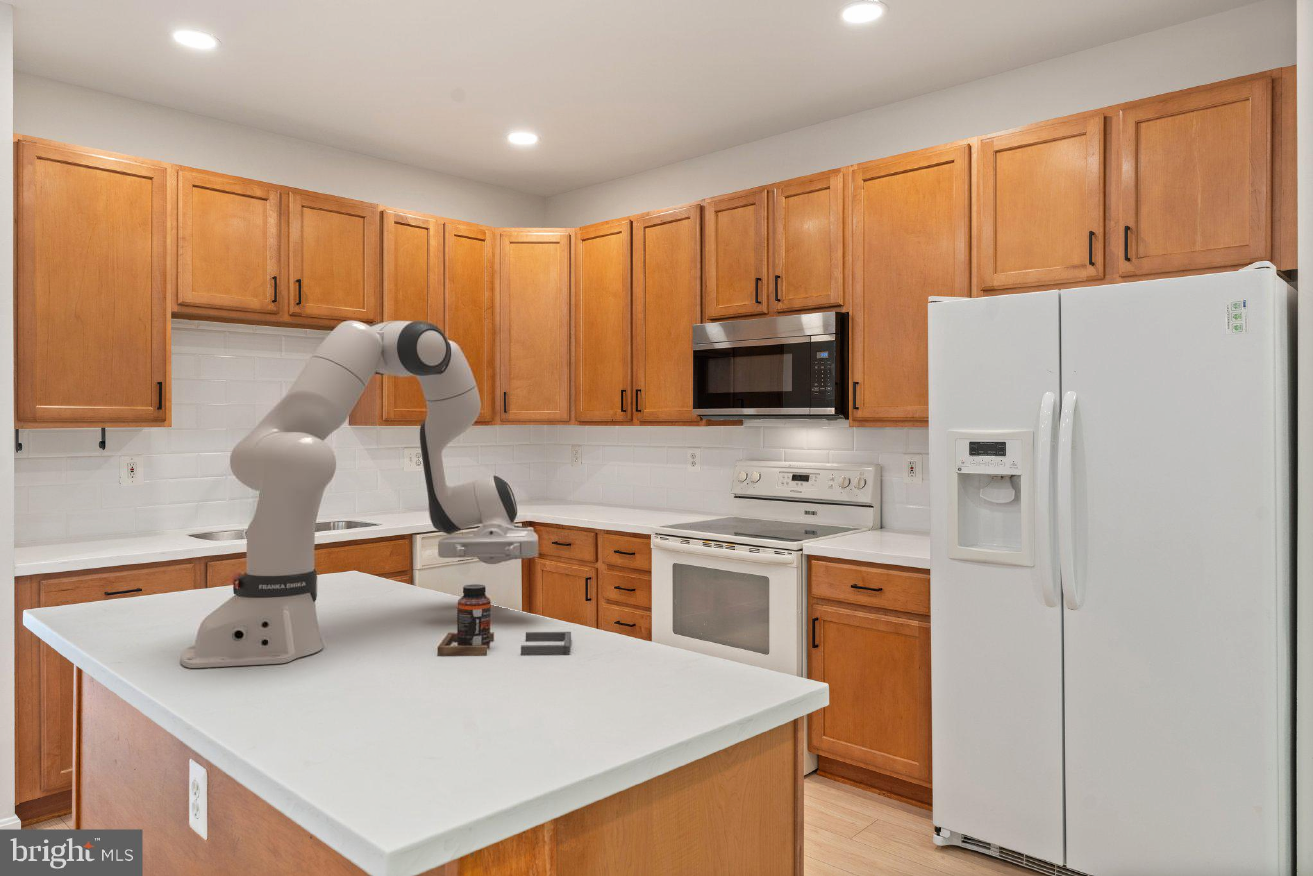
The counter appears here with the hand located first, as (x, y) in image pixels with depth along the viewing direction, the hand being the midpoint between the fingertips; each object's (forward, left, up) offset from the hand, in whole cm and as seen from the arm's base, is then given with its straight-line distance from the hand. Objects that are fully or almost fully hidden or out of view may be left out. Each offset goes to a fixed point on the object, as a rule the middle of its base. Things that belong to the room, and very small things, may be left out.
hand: (484, 552), depth 166 cm
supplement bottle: (-5, -11, -16) cm, 20 cm away
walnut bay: (-6, -11, -16) cm, 20 cm away
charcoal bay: (+8, -16, -16) cm, 24 cm away
